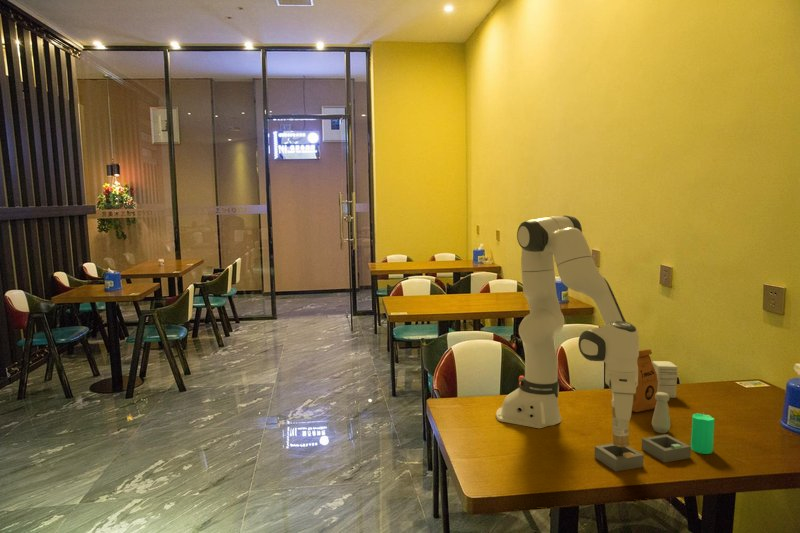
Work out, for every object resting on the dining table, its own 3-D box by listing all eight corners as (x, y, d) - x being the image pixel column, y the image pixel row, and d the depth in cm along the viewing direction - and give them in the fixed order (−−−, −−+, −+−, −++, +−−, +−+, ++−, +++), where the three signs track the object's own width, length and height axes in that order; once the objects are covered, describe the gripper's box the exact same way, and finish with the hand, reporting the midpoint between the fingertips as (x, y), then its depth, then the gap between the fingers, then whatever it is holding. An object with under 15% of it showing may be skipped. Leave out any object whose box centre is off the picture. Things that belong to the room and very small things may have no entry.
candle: (712, 455, 170) (714, 417, 169) (689, 451, 173) (691, 413, 172) (713, 448, 175) (715, 410, 174) (691, 443, 178) (693, 407, 177)
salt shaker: (672, 435, 185) (674, 396, 184) (653, 433, 186) (655, 395, 185) (667, 428, 191) (669, 390, 189) (649, 426, 192) (651, 389, 190)
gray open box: (615, 471, 160) (616, 457, 160) (594, 457, 169) (595, 443, 169) (643, 466, 163) (643, 452, 163) (621, 452, 172) (621, 439, 172)
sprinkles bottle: (621, 440, 168) (620, 396, 167) (632, 445, 164) (631, 400, 163) (609, 443, 167) (607, 398, 166) (620, 449, 162) (619, 403, 161)
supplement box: (650, 391, 228) (651, 360, 226) (669, 391, 227) (671, 361, 226) (656, 397, 220) (658, 366, 219) (676, 398, 220) (678, 366, 218)
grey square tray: (664, 462, 166) (665, 448, 165) (641, 449, 175) (642, 435, 174) (690, 457, 169) (691, 443, 168) (666, 444, 178) (667, 431, 177)
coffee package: (661, 410, 207) (664, 351, 204) (636, 415, 202) (638, 355, 199) (639, 401, 216) (642, 345, 213) (615, 406, 211) (617, 349, 208)
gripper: (607, 367, 174) (606, 410, 176) (611, 388, 155) (610, 436, 156) (630, 368, 172) (628, 412, 174) (636, 389, 153) (635, 439, 154)
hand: (620, 424), depth 165 cm, fingers closed on sprinkles bottle, 4 cm apart
